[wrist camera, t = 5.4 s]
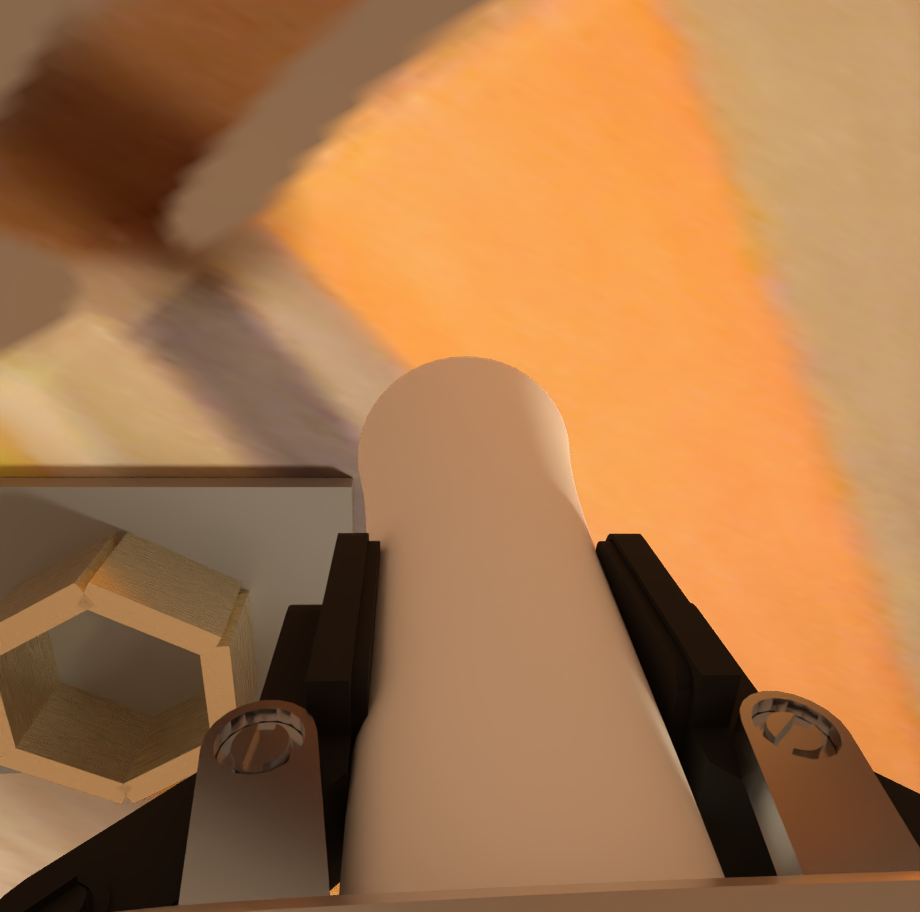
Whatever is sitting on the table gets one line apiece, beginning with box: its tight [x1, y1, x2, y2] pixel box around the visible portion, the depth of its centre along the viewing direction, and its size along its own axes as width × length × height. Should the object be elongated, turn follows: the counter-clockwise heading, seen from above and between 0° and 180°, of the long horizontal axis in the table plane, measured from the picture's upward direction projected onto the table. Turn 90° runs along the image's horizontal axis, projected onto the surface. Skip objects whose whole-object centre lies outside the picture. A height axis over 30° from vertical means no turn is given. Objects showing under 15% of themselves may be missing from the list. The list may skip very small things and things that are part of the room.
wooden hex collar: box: [0, 532, 258, 804], centre depth 29 cm, size 10×12×4 cm
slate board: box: [0, 477, 354, 774], centre depth 31 cm, size 20×16×1 cm
